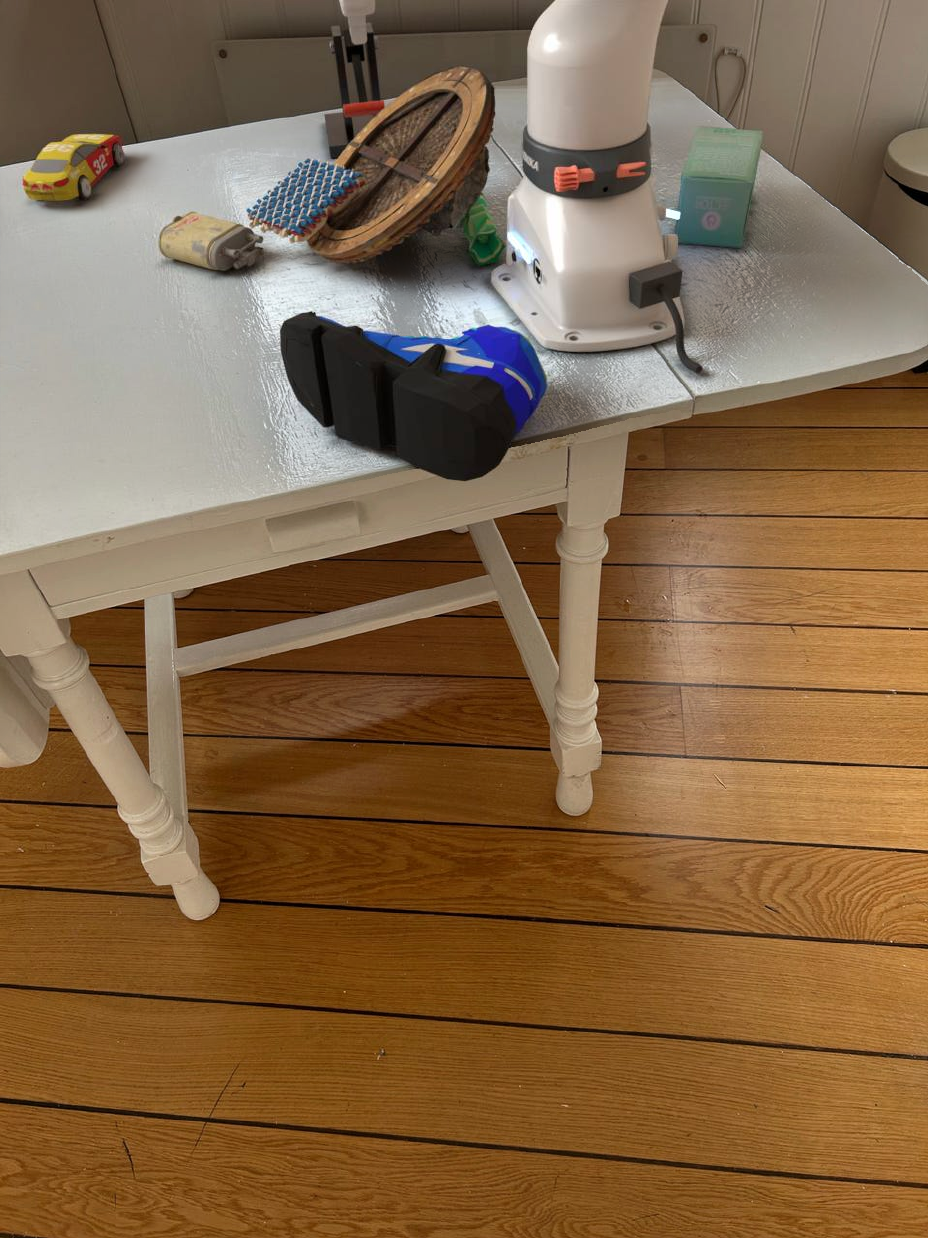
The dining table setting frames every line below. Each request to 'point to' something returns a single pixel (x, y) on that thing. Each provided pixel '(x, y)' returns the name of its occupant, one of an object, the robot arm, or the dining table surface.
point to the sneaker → (417, 390)
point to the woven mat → (305, 200)
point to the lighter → (209, 242)
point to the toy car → (72, 167)
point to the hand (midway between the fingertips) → (359, 40)
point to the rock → (460, 199)
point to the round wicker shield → (409, 163)
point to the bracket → (336, 123)
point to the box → (718, 186)
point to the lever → (359, 81)
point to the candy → (482, 234)
